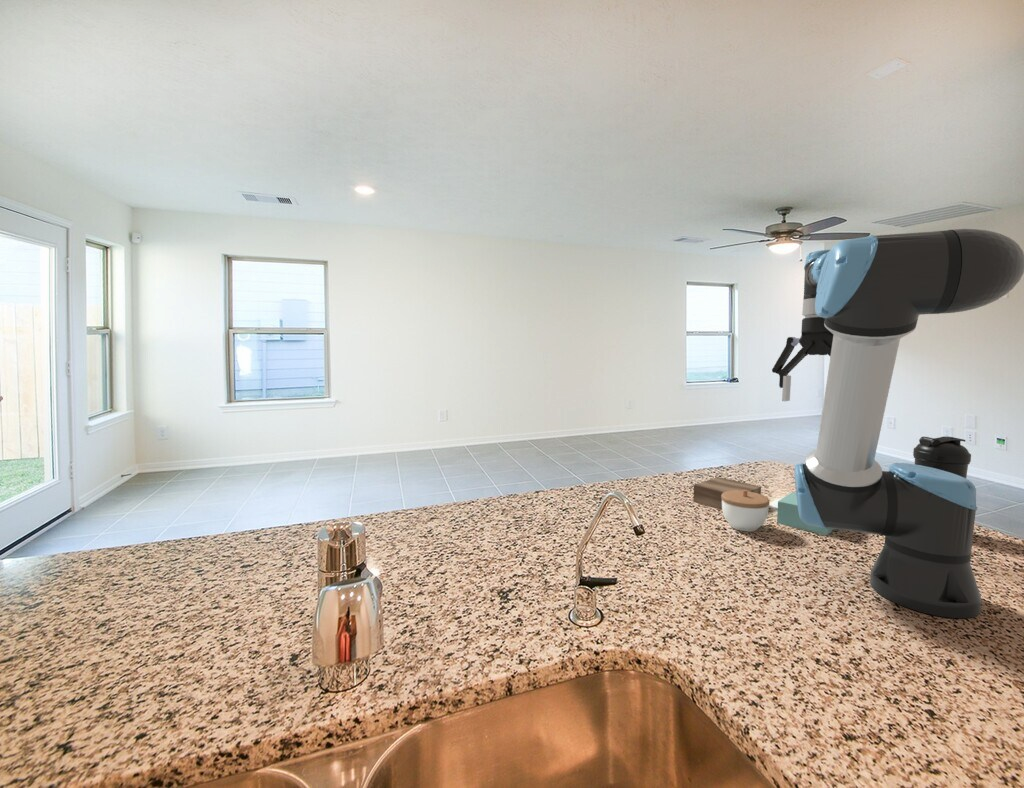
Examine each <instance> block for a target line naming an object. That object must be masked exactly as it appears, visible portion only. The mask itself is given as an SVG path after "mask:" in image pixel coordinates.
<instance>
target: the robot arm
mask: <svg viewBox="0 0 1024 788" xmlns="http://www.w3.org/2000/svg"><path fill="white" fill-rule="evenodd" d="M803 270H804V278H803V279H804V281H803V283H804V285H803V300H802V301H803V302H802V312H801V313H802V314H801V315H802V316H803V317H804V318H802V320H801V332H800V333H801V336H800V337H795V336H788V337H787V338H786V344H785V346H784V348H783V350H782V352H781V354H780V355H779V357H778V359H777V360H776V362H775V364H773V365H774V366H773V368H772V369H771V371H772V373H775V374H777V375H778V376H779V382H778V383H779V384H778V386H779V388H780V389H782V394H781V396H782V397H781V401H782V402H789V401H791V399H790V398H791V386H792V376H791V375H790V374H789V373H790V372H791V371H793V369H794V368H795V367H797V366H798V365H799V363H801V362H802V360H804V358H805V357H807V356H808V355H809V356H816V355H818V356H827V355H828V356H829V357H830V358H829V365H828V369H827V371H828V372H827V377H826V384H825V385H826V386H825V392H824V398H823V405H822V406H823V407H822V410H821V411H822V412H821V418H820V419H821V420H820V425H819V426H820V427H819V432H818V439H817V445H816V447H817V448H816V449H814V450H813V451H811V452H809V453H808V454H807V455H806V458H805V461H804V462H805V463H802V462H801V463H797V464H794V469H793V470H794V471H793V472H794V485H795V492H796V497H797V505H798V512H799V517H800V519H801V520H802V522H804V523H805V524H807V525H811V526H816V527H821V528H825V529H828V528H830V529H834V530H840V531H849V532H856V533H861V534H862V533H863V534H864V533H865V534H872V535H878V536H884V545H883V547H882V549H881V550H880V553H879V555H878V556H877V559H875V562H874V563H873V566H872V567H871V569H870V576H869V584H870V586H871V588H872V589H873V590H874V591H875V592H876V593H877V594H878V595H880V596H882V597H884V599H886V600H889V601H891V602H893V603H894V604H897V605H900V606H901V607H905V608H908V609H910V610H912V611H913V610H914V611H917V612H919V613H923V614H928V615H931V616H935V617H936V616H937V617H943V618H950V619H969V618H974V617H976V616H978V615H979V614H980V613H981V607H982V596H981V593H980V590H979V587H978V584H977V580H976V577H975V575H974V572H973V569H972V566H971V560H972V559H971V558H972V550H973V538H974V531H975V530H974V529H975V521H976V520H975V519H976V511H977V510H978V506H977V488H976V486H975V484H974V483H972V481H971V480H969V479H968V478H967V477H966V478H964V477H961V476H959V475H956V474H953V473H950V472H946V471H943V470H939V469H935V468H931V467H926V466H921V465H916V464H915V463H908V462H892V463H891V464H890V466H889V467H888V470H887V471H885V470H883V469H882V466H881V465H880V463H879V462H878V461H876V459H875V457H876V453H877V447H878V443H879V440H880V439H879V438H880V436H881V435H880V434H881V431H882V430H881V429H882V425H883V420H884V416H885V411H886V406H887V401H888V398H889V393H890V388H891V382H892V378H893V374H894V370H895V369H894V368H895V364H896V360H897V354H898V350H899V345H900V341H901V339H902V338H904V337H906V336H908V335H909V334H911V333H913V332H914V331H915V330H916V329H917V328H916V327H917V325H918V321H919V316H920V315H939V314H954V313H962V312H968V311H971V310H976V309H978V308H980V307H985V306H987V305H989V304H991V303H994V302H995V301H998V300H999V299H1001V298H1003V297H1004V296H1006V295H1007V294H1008V293H1010V291H1012V290H1013V289H1014V288H1015V287H1016V286H1017V285H1018V283H1019V282H1020V280H1021V279H1022V277H1023V275H1024V251H1023V249H1022V248H1021V246H1020V244H1018V243H1017V242H1016V241H1015V240H1014V239H1012V238H1011V237H1009V236H1007V235H1004V234H1002V233H998V232H996V231H992V230H991V231H990V230H985V229H978V228H977V229H976V228H974V229H973V228H957V229H948V230H947V229H946V230H936V231H921V232H919V231H918V232H906V233H894V234H892V233H891V234H879V235H878V234H877V235H876V234H875V235H873V234H870V235H868V236H863V237H862V236H861V237H857V238H848V239H847V238H846V239H843V240H841V241H838V242H837V243H835V244H834V245H833V246H832V247H831V248H830V249H821V250H820V249H819V250H816V251H815V250H814V251H812V252H809V253H807V255H806V256H805V263H804V268H803ZM798 344H799V345H800V346H801V348H800V350H799V351H797V353H796V354H795V355H794V356H793V358H792V359H790V361H788V360H789V357H790V356H791V354H792V352H793V351H794V349H795V347H796V346H797V345H798ZM787 361H788V362H787ZM786 363H787V364H786ZM785 364H786V365H785Z"/></svg>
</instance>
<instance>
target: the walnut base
mask: <svg viewBox="0 0 1024 788" xmlns="http://www.w3.org/2000/svg"><path fill="white" fill-rule="evenodd" d="M734 490H739V491H743V490H747V491H749V492H754V493H758V494H761V495H762V486H760V485H755V484H751V483H747V482H743V481H737V480H733V479H729V478H725V477H720V476H716V477H714V478H710V479H707V480H704V481H701V482H697V483H695V484H693V496H692V497H693V498H692V499H693V500H692V502H694V503H697V504H700V505H705V506H708V507H710V508H715V509H718V510H722V498H721V495H722V493H723V492H726V491H734Z"/></svg>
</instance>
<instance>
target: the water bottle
mask: <svg viewBox="0 0 1024 788" xmlns="http://www.w3.org/2000/svg"><path fill="white" fill-rule="evenodd" d="M918 441H919V443H918V444H917V445H916V446H915V447H913V452H912V455H913V458H914V464H916V465H921V466H926V467H931V468H935V469H939V470H943V471H946V472H950V473H953V474H956V475H959V476H961V477H964V478H966V479H967V475H968V468H969V465H970V464H971V462H972V461H971V460H972V454H971V453H970V451H969V450H968V448H966V447H965V446H964V445H962V444H961V443H962V442H966V439H964V438H960V437H954V436H940V437H929V436H921V437H920V438H919V439H918Z"/></svg>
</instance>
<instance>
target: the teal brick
mask: <svg viewBox="0 0 1024 788" xmlns="http://www.w3.org/2000/svg"><path fill="white" fill-rule="evenodd" d="M776 524H779V525H783V526H787V527H791V528H795V529H799V530H804V531H807V532H810V533H811V532H812V533H814V534H820V535H822V536H823V535H824V536H828V535H829V534H831V532H832V531H834V530H835V529H830V528H828V529H825V528H821V527H816V526H811V525H807V524H805V523H804V522H802V520H801V519H800V517H799V512H798V505H797V497H796V491H792V492H790V493H789V494H787V495H786V496H784V497H782V498H781V499H779V500H778V501H777V513H776Z"/></svg>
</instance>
